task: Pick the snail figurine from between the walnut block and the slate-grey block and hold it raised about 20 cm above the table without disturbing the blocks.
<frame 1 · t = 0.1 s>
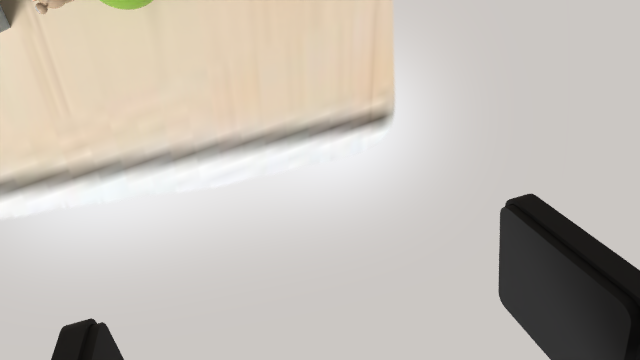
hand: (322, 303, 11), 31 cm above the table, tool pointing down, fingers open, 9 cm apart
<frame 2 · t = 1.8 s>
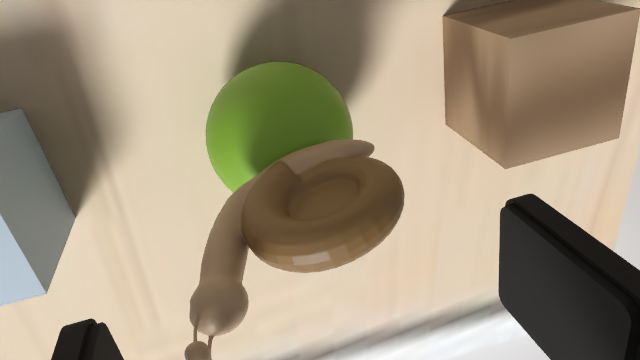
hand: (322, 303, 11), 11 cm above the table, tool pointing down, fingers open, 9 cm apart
snail figurine: (258, 115, 20), on the table
walnut block: (494, 60, 22), on the table
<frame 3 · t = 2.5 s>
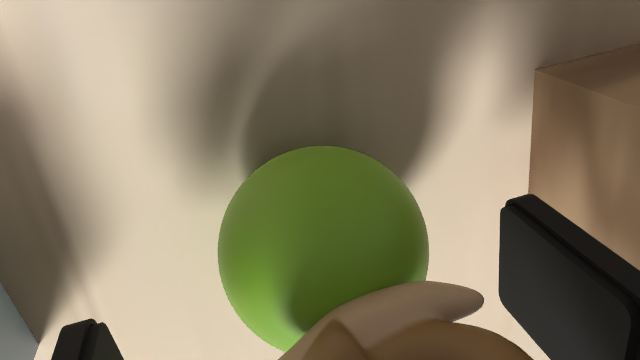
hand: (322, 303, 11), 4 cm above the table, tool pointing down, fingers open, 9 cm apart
snail figurine: (286, 204, 15), on the table
walnut block: (594, 123, 17), on the table
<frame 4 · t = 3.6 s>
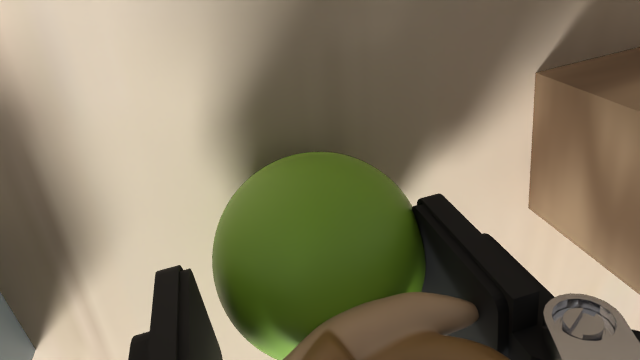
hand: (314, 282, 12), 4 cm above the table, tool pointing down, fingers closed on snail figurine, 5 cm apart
snail figurine: (283, 209, 15), on the table, touching gripper
walnut block: (595, 126, 17), on the table
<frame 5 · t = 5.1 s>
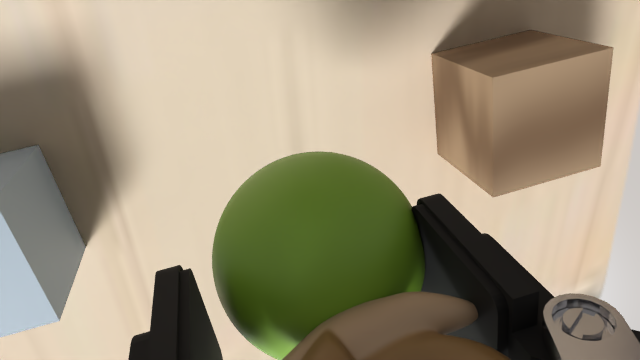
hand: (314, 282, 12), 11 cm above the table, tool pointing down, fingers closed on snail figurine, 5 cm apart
snail figurine: (283, 209, 15), point 7 cm above the table, touching gripper
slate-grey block: (1, 213, 20), on the table
walnut block: (481, 93, 23), on the table
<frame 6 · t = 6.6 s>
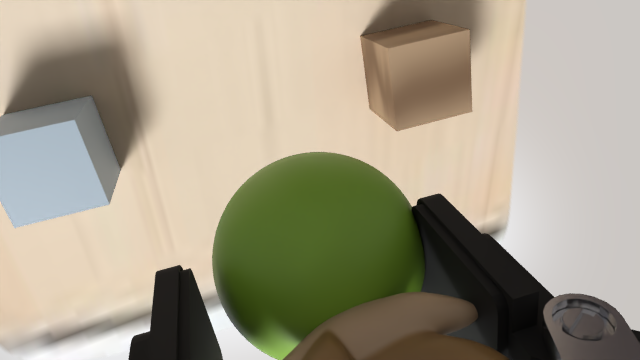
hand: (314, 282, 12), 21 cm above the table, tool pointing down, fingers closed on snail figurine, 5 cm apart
snail figurine: (283, 209, 15), point 17 cm above the table, touching gripper
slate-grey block: (65, 143, 30), on the table
walnut block: (399, 65, 33), on the table
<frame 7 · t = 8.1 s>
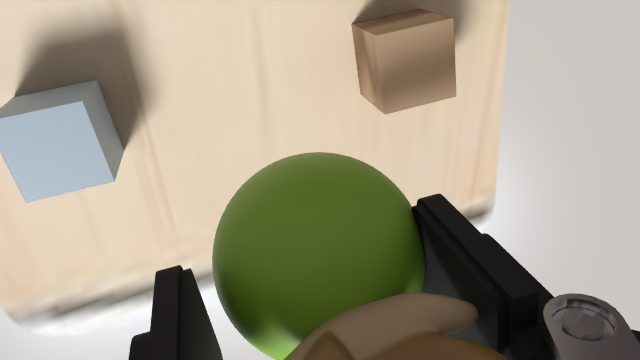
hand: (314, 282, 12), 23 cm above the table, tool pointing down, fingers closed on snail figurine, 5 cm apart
snail figurine: (283, 209, 15), point 20 cm above the table, touching gripper
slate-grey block: (71, 124, 31), on the table
walnut block: (389, 52, 34), on the table
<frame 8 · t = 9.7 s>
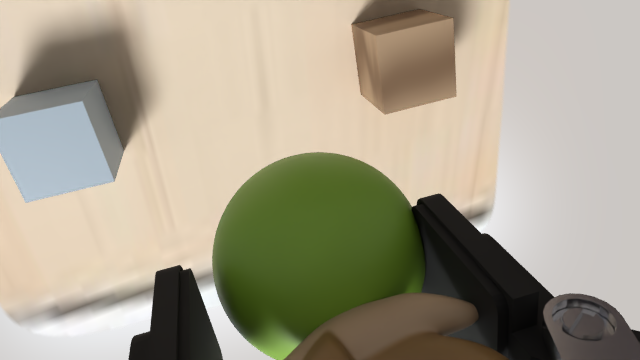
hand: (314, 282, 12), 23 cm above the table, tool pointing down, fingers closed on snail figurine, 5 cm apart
snail figurine: (283, 209, 15), point 20 cm above the table, touching gripper
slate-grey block: (71, 124, 31), on the table
walnut block: (389, 52, 34), on the table
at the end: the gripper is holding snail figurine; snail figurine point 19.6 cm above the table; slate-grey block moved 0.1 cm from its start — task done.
